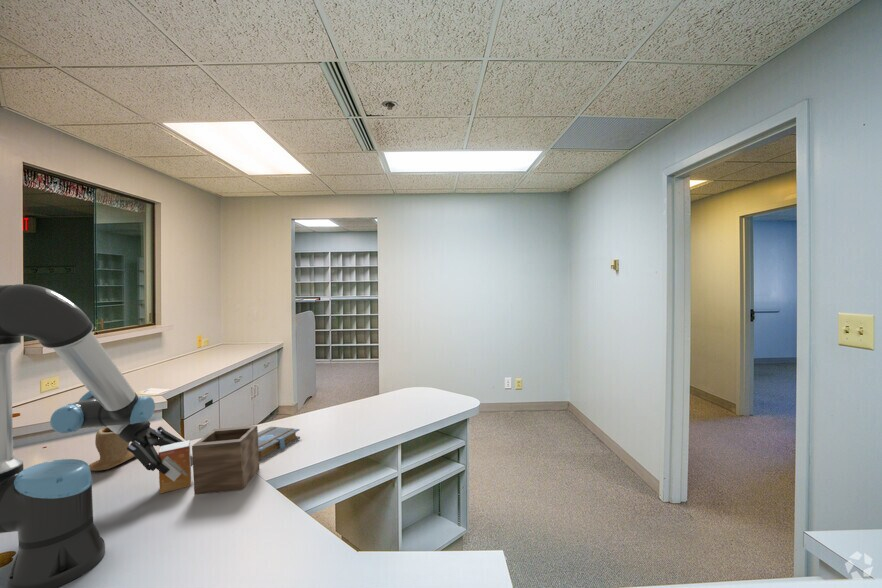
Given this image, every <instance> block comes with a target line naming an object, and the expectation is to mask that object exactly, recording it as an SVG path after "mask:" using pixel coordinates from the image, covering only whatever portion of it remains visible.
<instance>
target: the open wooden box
mask: <svg viewBox="0 0 882 588" xmlns="http://www.w3.org/2000/svg"><path fill="white" fill-rule="evenodd" d="M258 429H259V428H258V425H247V426H238V427H237V426H235V427H224V428H214V429H213V430H212V431H210V432H208V433H207V434H206V435H205V436H203V437H202V438H200V439H198V441H196V442H195V443H194V444H193V445H191V451H192V453H191V454H192V457H193V466H192V472H193V491H194V492H193V493H194V496H195V495H204V494H212V493H223V492H225V493H226V492H233V491H241V490H242V491H243V490H244V488H245V487H246V486H247V485H248V483H249V482H250V481H251V480H252V478H253V477H254V476H255V474H256V473H257V472H258V470H260V460H259V450H258V432H259V430H258Z"/></svg>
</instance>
